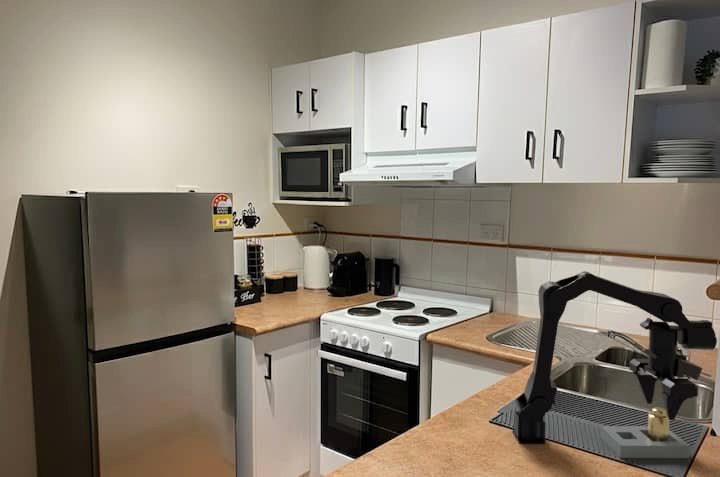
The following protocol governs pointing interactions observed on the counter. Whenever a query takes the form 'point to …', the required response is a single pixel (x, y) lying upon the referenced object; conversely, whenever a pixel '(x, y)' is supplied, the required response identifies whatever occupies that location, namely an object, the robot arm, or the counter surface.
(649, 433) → the brass fitting
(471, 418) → the counter surface
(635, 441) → the socket block
